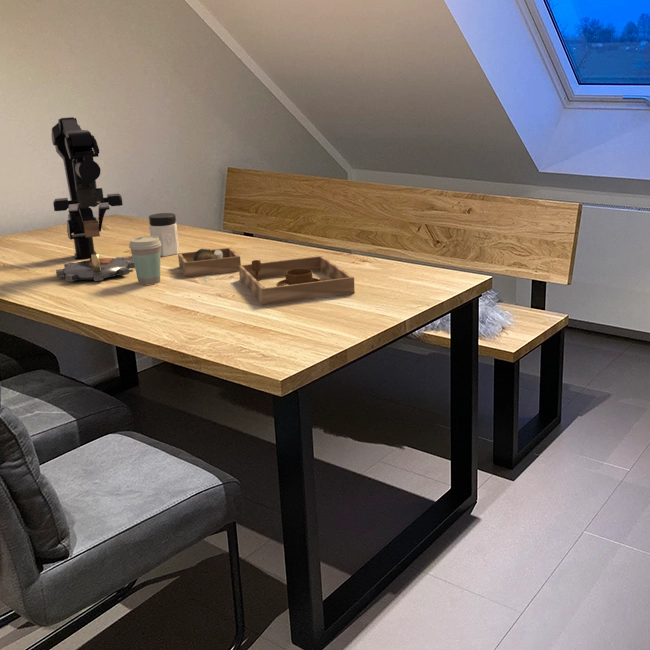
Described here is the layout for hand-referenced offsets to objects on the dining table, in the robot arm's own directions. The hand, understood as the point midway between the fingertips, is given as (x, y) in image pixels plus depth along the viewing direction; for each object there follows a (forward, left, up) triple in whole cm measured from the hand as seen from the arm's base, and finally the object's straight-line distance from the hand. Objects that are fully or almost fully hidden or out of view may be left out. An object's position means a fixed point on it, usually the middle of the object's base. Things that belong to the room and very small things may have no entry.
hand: (92, 232), depth 230 cm
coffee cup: (+21, +13, -11) cm, 27 cm away
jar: (-12, +22, -11) cm, 27 cm away
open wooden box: (+14, +31, -11) cm, 36 cm away
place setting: (+41, +48, -12) cm, 64 cm away
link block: (0, 0, -1) cm, 1 cm away
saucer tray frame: (+43, +48, -11) cm, 65 cm away
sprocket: (+5, 0, -11) cm, 12 cm away
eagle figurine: (+15, +30, -11) cm, 36 cm away
